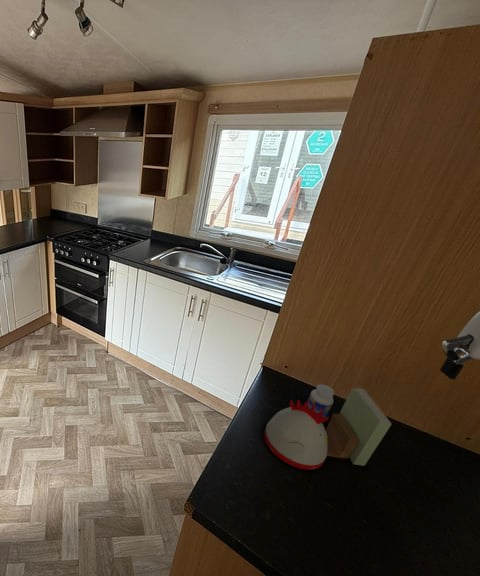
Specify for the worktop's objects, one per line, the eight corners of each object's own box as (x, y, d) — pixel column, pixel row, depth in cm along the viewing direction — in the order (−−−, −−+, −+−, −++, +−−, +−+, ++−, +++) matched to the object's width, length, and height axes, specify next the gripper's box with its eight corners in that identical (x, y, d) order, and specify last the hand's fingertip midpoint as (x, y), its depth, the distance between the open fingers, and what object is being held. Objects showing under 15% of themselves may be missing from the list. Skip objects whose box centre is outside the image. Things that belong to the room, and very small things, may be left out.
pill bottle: (299, 411, 93) (309, 386, 88) (310, 404, 95) (320, 380, 91) (318, 424, 88) (330, 399, 84) (329, 417, 91) (341, 392, 86)
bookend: (332, 432, 86) (341, 414, 83) (348, 459, 79) (358, 440, 76) (312, 429, 87) (321, 411, 84) (326, 455, 80) (336, 437, 77)
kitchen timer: (312, 481, 74) (333, 437, 67) (254, 441, 83) (268, 400, 77) (332, 447, 82) (353, 406, 75) (277, 414, 91) (292, 375, 85)
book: (364, 388, 80) (353, 386, 80) (392, 423, 70) (380, 421, 71) (341, 429, 87) (331, 427, 87) (364, 466, 77) (353, 464, 77)
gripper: (552, 304, 62) (502, 371, 70) (452, 297, 65) (414, 362, 73) (599, 325, 56) (538, 395, 63) (485, 315, 58) (440, 384, 66)
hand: (472, 377), depth 68 cm, fingers open, 9 cm apart
